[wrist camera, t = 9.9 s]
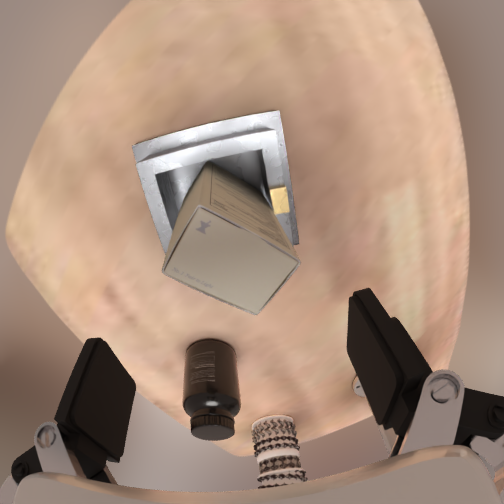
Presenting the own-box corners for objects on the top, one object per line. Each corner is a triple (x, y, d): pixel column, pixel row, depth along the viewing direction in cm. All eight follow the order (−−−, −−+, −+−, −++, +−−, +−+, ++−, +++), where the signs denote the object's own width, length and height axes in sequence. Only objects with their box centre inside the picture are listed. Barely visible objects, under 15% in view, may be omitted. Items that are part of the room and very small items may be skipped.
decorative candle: (239, 425, 47) (252, 539, 25) (278, 409, 45) (302, 533, 23) (266, 436, 51) (282, 536, 29) (303, 421, 49) (328, 527, 27)
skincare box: (182, 199, 24) (153, 273, 14) (208, 157, 23) (194, 200, 12) (241, 232, 26) (255, 320, 16) (268, 193, 25) (304, 262, 14)
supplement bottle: (181, 364, 36) (176, 439, 26) (191, 333, 33) (185, 416, 23) (228, 373, 38) (233, 446, 27) (243, 343, 35) (252, 424, 24)
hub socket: (277, 110, 22) (291, 110, 17) (296, 239, 28) (312, 268, 24) (135, 144, 22) (112, 154, 17) (173, 265, 29) (165, 298, 24)
